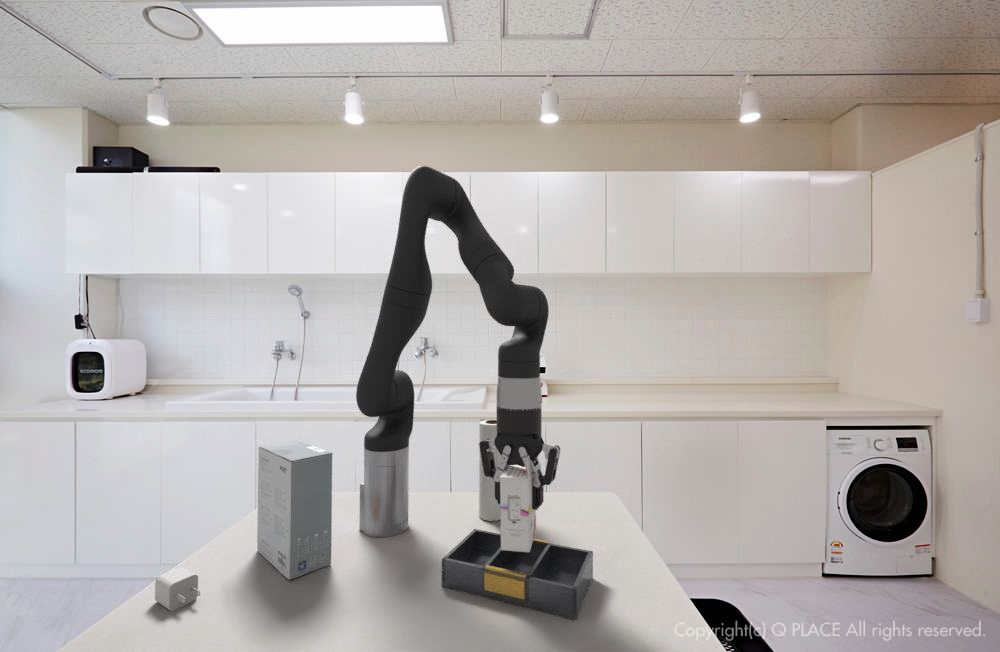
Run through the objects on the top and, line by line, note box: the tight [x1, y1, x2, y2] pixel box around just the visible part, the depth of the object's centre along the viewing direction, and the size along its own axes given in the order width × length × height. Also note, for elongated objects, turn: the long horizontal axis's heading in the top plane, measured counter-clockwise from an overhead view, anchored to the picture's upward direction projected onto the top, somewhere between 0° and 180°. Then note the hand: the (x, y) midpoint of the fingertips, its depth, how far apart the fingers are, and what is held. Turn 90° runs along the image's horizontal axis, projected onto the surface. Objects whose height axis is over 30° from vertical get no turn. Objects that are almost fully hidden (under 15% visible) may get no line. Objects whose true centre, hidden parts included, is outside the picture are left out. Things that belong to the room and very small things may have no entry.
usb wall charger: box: [154, 566, 201, 611], centre depth 69 cm, size 4×7×4 cm, turn 59°
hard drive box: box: [256, 439, 333, 581], centre depth 83 cm, size 16×8×20 cm, turn 47°
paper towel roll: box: [478, 418, 501, 522], centre depth 102 cm, size 7×6×21 cm
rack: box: [441, 528, 594, 621], centre depth 75 cm, size 22×13×5 cm, turn 67°
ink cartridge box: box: [500, 455, 537, 552], centre depth 75 cm, size 9×5×15 cm, turn 168°
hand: (518, 504), depth 75 cm, fingers closed on ink cartridge box, 5 cm apart
